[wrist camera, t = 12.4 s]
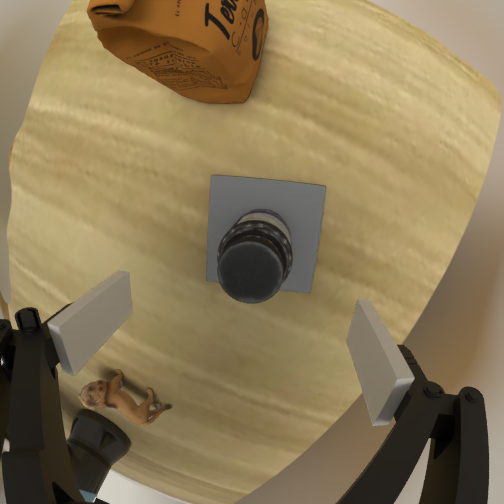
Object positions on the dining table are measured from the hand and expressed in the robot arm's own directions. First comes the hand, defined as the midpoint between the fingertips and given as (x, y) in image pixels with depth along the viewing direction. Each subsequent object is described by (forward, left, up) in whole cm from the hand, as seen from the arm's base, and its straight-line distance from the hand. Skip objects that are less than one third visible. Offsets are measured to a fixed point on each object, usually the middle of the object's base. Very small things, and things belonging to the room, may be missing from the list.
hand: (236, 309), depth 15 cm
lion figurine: (-20, -29, -17) cm, 39 cm away
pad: (0, 0, -17) cm, 17 cm away
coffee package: (-6, +20, -17) cm, 27 cm away
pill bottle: (0, 0, -16) cm, 16 cm away
